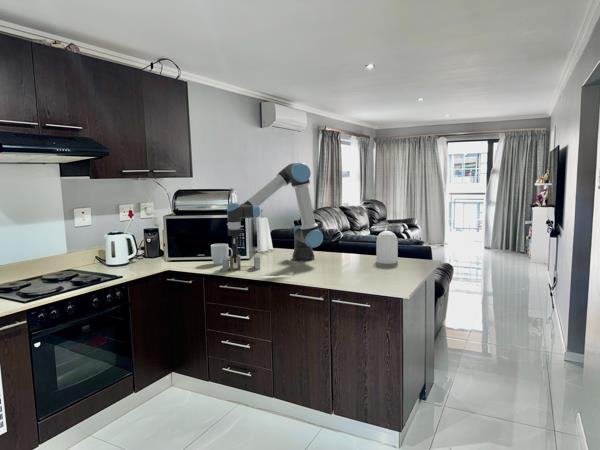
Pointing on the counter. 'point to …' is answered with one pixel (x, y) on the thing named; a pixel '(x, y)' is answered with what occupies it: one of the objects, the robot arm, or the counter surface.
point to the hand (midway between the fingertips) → (235, 266)
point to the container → (387, 248)
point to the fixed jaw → (225, 263)
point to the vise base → (237, 270)
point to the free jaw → (257, 261)
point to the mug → (219, 252)
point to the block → (232, 263)
